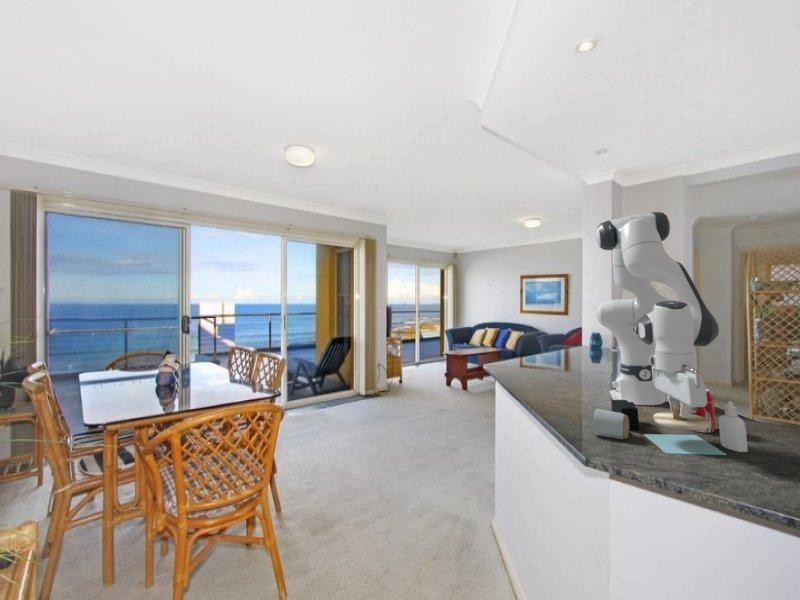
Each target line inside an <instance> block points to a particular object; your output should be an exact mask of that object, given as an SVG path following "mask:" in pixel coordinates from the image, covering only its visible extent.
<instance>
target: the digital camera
mask: <svg viewBox="0 0 800 600" xmlns="http://www.w3.org/2000/svg"><path fill="white" fill-rule="evenodd" d="M611 407H612V408H611V409H612V412H618V413H622V414H625V415H627V416H628V419H629V431H639V430H640V422H639V421H640V419H639V410H638V407H636V404H634V403H633V402H628V401H627V400H613V399H611Z"/></svg>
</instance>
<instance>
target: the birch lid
mask: <svg viewBox="0 0 800 600" xmlns="http://www.w3.org/2000/svg"><path fill="white" fill-rule="evenodd" d="M680 406H681V405H680V404H679V403H678V404H673V405H672V408H673V411H662V412H656V413H654V414H653V415H652V419H653V422H654V423H655V424H657V425H659V426H662V427H666V428H668V429H674V430H681V431H691V430H704V429H708V428H709V427H710V421H709V420H708V419H706V418H704V417H701V416H698V415H694V414H689V418H683V417H681V416H679V410H678V409H680Z"/></svg>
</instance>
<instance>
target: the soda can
mask: <svg viewBox="0 0 800 600" xmlns="http://www.w3.org/2000/svg"><path fill="white" fill-rule="evenodd" d="M705 389H706V396H707V404H706V406H705V407H691V408H690V411H689V414H694V415H698V416H701V417H704V418H706V419H708V420H709V421H710V427H709V428H708V429H704V430H690V431H691V432H696V433H701V434H702V433H703V434H704V433H705V434H709V433H710V434H711V433H713V432H716V416H715V415H716V414H715V403H714V397H713V395H712V393H711V392H710V391H711V390H710V389H708V388H706V387H705Z"/></svg>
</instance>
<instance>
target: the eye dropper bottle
mask: <svg viewBox="0 0 800 600" xmlns="http://www.w3.org/2000/svg"><path fill="white" fill-rule="evenodd" d="M727 401H728V400H727ZM723 409H724V414H723V415H720V416H719V417H718V425H719V437H720V438H719V439H720V445H721V446H722V447H723V448H726V449H728V450H731V451H735V452H738V453H747V452H749V450H748V439H747V429H746V423H745V421H744V420H743V419H742V418H741V417H739V416H738V408H737V407H736V406H735V405H734V404H733V401H731V400H729V401H728V402H727V405H725V406H723Z"/></svg>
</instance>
